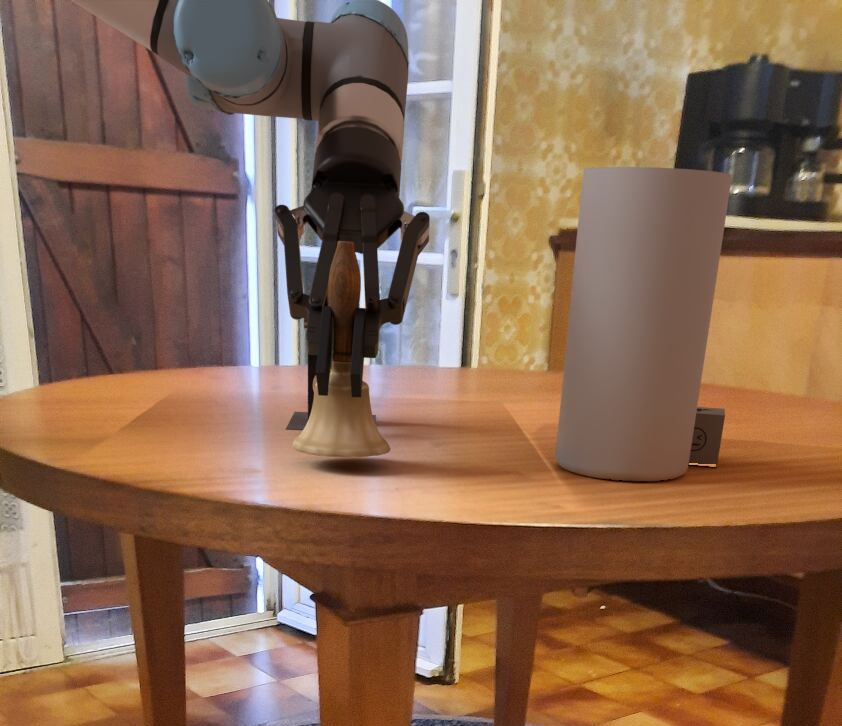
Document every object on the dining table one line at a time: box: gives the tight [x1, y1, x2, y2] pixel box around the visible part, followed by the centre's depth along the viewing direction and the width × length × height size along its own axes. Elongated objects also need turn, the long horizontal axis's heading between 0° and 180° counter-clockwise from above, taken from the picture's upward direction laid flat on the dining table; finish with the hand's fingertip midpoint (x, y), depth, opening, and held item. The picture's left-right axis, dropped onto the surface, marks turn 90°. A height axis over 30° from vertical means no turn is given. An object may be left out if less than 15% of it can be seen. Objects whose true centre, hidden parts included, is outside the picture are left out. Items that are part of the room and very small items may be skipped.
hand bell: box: [291, 241, 391, 458], centre depth 87 cm, size 8×8×16 cm
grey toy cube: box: [689, 406, 726, 466], centre depth 107 cm, size 5×5×5 cm
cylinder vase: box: [554, 166, 733, 482], centre depth 96 cm, size 12×12×25 cm
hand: (338, 384), depth 84 cm, fingers closed on hand bell, 2 cm apart
